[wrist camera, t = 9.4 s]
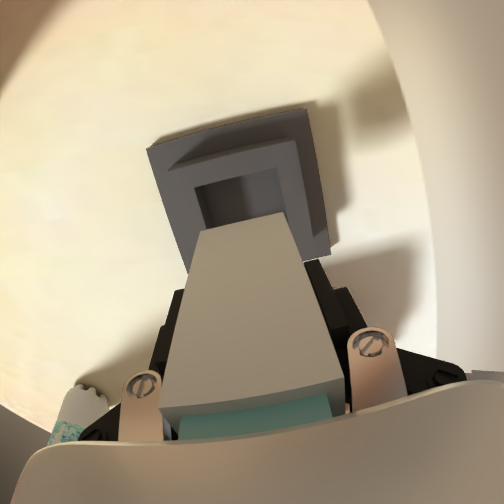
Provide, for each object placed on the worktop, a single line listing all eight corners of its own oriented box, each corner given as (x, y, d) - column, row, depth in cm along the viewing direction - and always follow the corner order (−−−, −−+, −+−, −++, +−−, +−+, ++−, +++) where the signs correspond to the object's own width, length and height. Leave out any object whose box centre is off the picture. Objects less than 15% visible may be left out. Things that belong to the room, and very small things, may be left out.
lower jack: (149, 147, 23) (133, 155, 19) (303, 108, 22) (316, 109, 18) (193, 279, 28) (187, 306, 24) (328, 249, 27) (341, 272, 23)
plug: (200, 231, 15) (143, 486, 4) (282, 211, 15) (371, 459, 4) (222, 299, 17) (213, 532, 6) (296, 283, 17) (359, 512, 6)
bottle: (59, 379, 34) (10, 504, 16) (97, 377, 33) (50, 520, 15) (85, 410, 37) (50, 528, 19) (122, 410, 36) (92, 540, 18)
